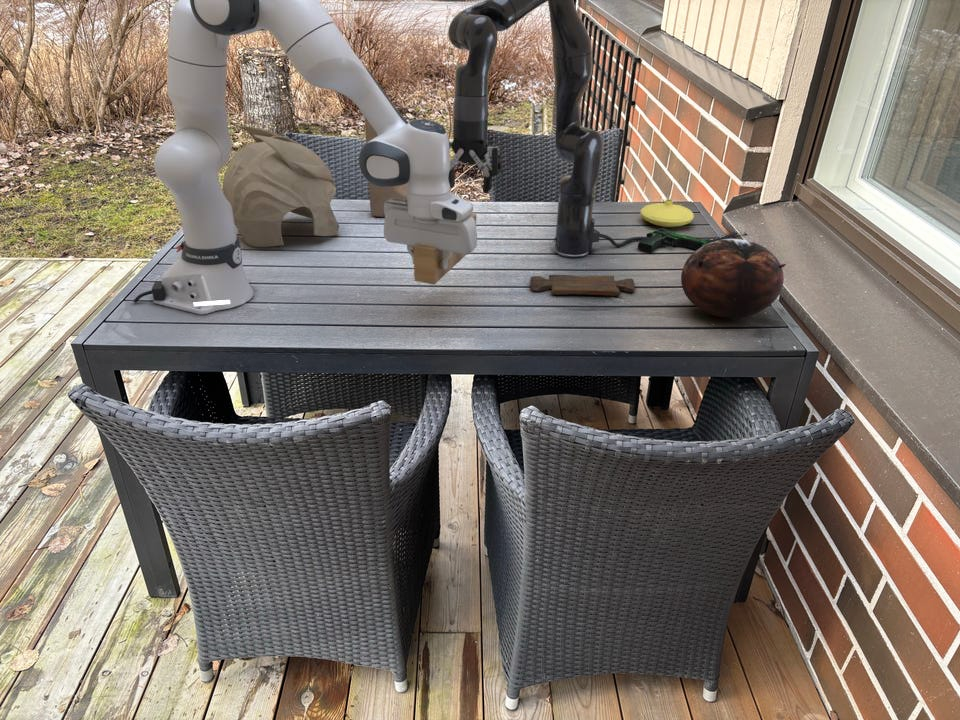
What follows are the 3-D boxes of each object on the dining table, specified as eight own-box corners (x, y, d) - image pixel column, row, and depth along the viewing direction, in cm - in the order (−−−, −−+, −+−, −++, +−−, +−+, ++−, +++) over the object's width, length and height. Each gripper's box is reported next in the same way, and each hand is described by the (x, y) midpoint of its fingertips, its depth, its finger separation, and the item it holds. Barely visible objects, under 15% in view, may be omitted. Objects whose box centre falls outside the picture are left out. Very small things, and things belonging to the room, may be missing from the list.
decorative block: (418, 219, 216) (415, 117, 200) (370, 216, 217) (363, 114, 202) (423, 211, 222) (421, 111, 207) (376, 208, 224) (370, 109, 208)
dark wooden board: (638, 298, 171) (631, 281, 180) (639, 292, 170) (632, 275, 179) (530, 294, 172) (529, 277, 180) (531, 288, 171) (529, 271, 179)
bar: (457, 242, 172) (457, 211, 168) (476, 245, 170) (476, 214, 166) (414, 281, 152) (413, 246, 148) (434, 284, 151) (433, 249, 147)
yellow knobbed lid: (637, 212, 224) (640, 190, 220) (689, 215, 222) (693, 193, 219) (640, 230, 211) (643, 207, 207) (695, 233, 209) (699, 210, 205)
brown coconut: (756, 268, 174) (792, 226, 156) (764, 335, 169) (803, 301, 150) (665, 264, 174) (691, 222, 155) (670, 332, 168) (697, 297, 149)
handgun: (632, 238, 197) (658, 223, 207) (630, 248, 199) (657, 232, 209) (685, 255, 189) (710, 237, 198) (684, 265, 190) (708, 247, 200)
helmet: (352, 242, 202) (347, 133, 187) (249, 261, 186) (234, 144, 172) (313, 214, 220) (305, 113, 206) (217, 230, 205) (201, 122, 190)
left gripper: (376, 201, 146) (380, 263, 153) (468, 214, 140) (468, 279, 147) (390, 192, 151) (393, 253, 159) (480, 205, 145) (479, 268, 152)
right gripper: (433, 115, 154) (433, 189, 162) (495, 122, 149) (492, 198, 157) (447, 109, 160) (446, 181, 168) (507, 116, 155) (503, 189, 164)
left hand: (430, 266), depth 153 cm, fingers closed on bar, 5 cm apart
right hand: (468, 189), depth 163 cm, fingers open, 8 cm apart
